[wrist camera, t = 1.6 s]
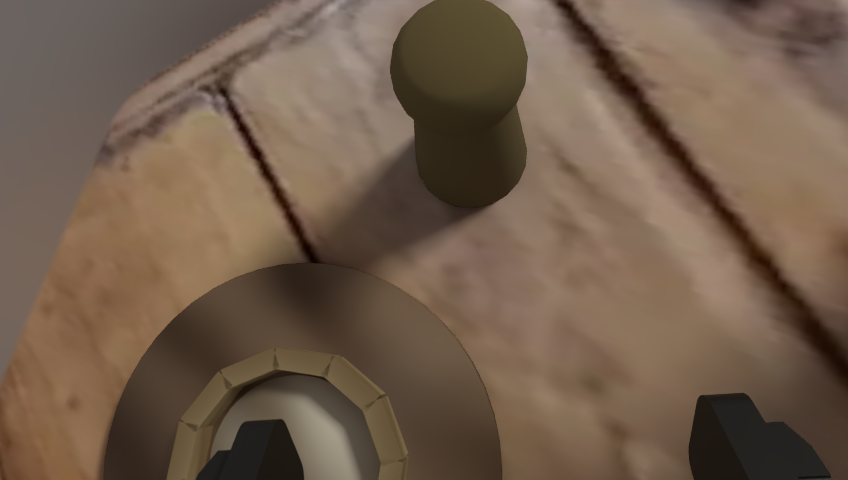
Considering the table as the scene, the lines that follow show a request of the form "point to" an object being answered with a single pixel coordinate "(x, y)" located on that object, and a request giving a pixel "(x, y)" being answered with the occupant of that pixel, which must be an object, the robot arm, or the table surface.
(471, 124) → the cork
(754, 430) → the robot arm
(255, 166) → the table surface
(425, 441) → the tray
